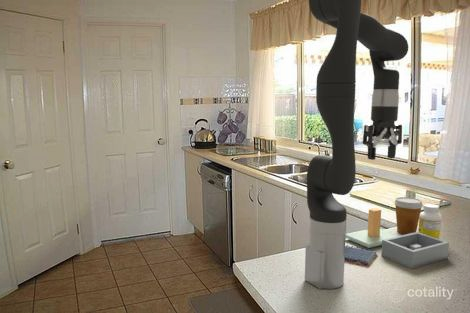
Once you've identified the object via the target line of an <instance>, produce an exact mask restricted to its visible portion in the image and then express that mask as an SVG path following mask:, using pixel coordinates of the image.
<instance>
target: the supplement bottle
mask: <svg viewBox="0 0 470 313" xmlns="http://www.w3.org/2000/svg"><path fill="white" fill-rule="evenodd" d="M422 210H423V211H421V212H420V216H419V221H418V231H417V232H419V233H422V234H425V235H428V236H431V237H434V238H437V239H440V240H441V234H442V233H441V232H442V231H441V229H442V220H443V216H442V214H440V213H439V210H440V206H439V205H437V204H433V203H426V204H424V203H423V206H422Z"/></svg>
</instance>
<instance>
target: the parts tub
mask: <svg viewBox="0 0 470 313" xmlns="http://www.w3.org/2000/svg"><path fill="white" fill-rule="evenodd" d="M449 248H450V242H448V241H445V240H442V239H441V238H440V239H437V238H434V237H431V236H428V235H425V234H422V233H419V232H418V231H416V232H415V233H410V234H402V235H400V236H397V237H393V238H389V239H384V240H382V245H381V253H380V254H381V257H384V258H386V259H388V260H391V261H393V262H396V263H398V264H400V265H403V266H405V267H407V268H409V269H412V270H413V269H417V268H420V267H424V266H427V265H430V264H434V263H437V262H441V261H444V260H447V259H449Z"/></svg>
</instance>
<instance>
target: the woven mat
mask: <svg viewBox="0 0 470 313" xmlns="http://www.w3.org/2000/svg"><path fill="white" fill-rule="evenodd" d="M377 257H378V254H377V251H375V250H369V248H367V249H364V247H361V248H359V247H358V246H357V247H354V246H353V245H352V246H349V245H348V244H347V245H345V261H344V263H345V262H346V263H351V264H355V265H359V266H364V267H367V266H368V268H369V266H371V265H372V264H373V261H374V260H375V259H377ZM365 264H366V265H365Z"/></svg>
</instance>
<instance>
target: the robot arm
mask: <svg viewBox="0 0 470 313" xmlns="http://www.w3.org/2000/svg"><path fill="white" fill-rule="evenodd" d="M362 1H363V0H308V6H309V10H310V12H311V14H312V16H313V17H314V18H315V19H316V20H317V21H319V22H321V23H323V24H326V25H327V26H330V27H332V28H334V29H336V34H335V38H334V40H333V44H332V45H331V48H330V50H329V52H328V53H327V55H326V57H325V59H324V61H323V62H322V64H321V66H320V68H319V70H318V73H317V76H316V85H315V86H316V89H315V90H316V92H315V93H316V94H315V95H316V97H315V100H316V102H315V103H316V107H317V110H318V112H319V115H320V117H321V119H322V121H323V123H324V124H325V126H326V129H327V131H328V133H329V136H330V139H331V148H332V150H331V151H332V156H331V155H325V154H318V155H315V156H313V157H312V158H311V160H310V161H309V164H308V166H307V171H306V200H307V202H306V203H307V204H306V205H307V208H308V211H309V227H308V244H307V245H306V246H305V252H304V253H305V256H304V257H305V258H304V259H305V260H304V280H305V281H306V282H307V283H309V284H311V285H312V286H314V287H315V288H317V289H319V290H321V289H329V290H330V289H331V290H333V289H338V288H340V287H342V286H343V285H344V283H345V281H344V280H345V246H346V239H347V238H346V234H347V232H346V231H347V214H348V213H347V209H346V207H345V206H344V205H342V203H340V202H339V201H338V200H337V199H336V198H335V197H334V194H335V195H337V196H338V195H339V196H345V195H348V194H349V193H350V192H351V191H352V189H353V188H354V185H355V181H356V172H357V171H356V170H357V168H356V152H355V132H354V131H355V129H354V128H355V103H356V86H357V85H356V84H357V81H356V79H357V78H356V77H357V76H356V74H357V73H356V72H357V71H356V70H357V68H356V67H357V47H358V42H359V43H360V44H361V45H363V47H365V48H366V49H367V50H369V51H368V52H369V58H370V61H371V66H372V67H371V68H372V72H373V89H372V90H373V91H372V96H371V109H370V111H371V112H370V120H371V122H372V124H364V126H363V133H362V134H363V136H362V145H365V146H367V159H368V160H372V161H374V160H376V153H377V152H376V151H377V147H376V146H377V145H378V143H379V142H381V140H385V141H386V142H387V144H388V146H387V158H389V159H395V157H396V151H397V146H398V145H400V144H402V142H403V140H402V139H403V125H402V124H397V123H396V124H395V122H397V121H398V120H399V119H398V118H399V104H400V103H399V101H400V100H399V99H400V95H399V94H400V93H399V88H400V86H399V85H400V72H399V71H398V70H397V69H393V68H387V66H386V64H385V62H394V61H396V62H397V61H400V60H402V59H404V58H405V57H406V56H407V54H408V52H409V44H408V41H407V40H408V39H407V38H406V37H405V36H404V35H403V34H401V33H399V32H397V31H395V30H392V29H390V28H387V27H385V25H383V23H382V22H380V20H378V19H377V18H375V17H373V16H371V15H369V14H366V13H363V12H362Z"/></svg>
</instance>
